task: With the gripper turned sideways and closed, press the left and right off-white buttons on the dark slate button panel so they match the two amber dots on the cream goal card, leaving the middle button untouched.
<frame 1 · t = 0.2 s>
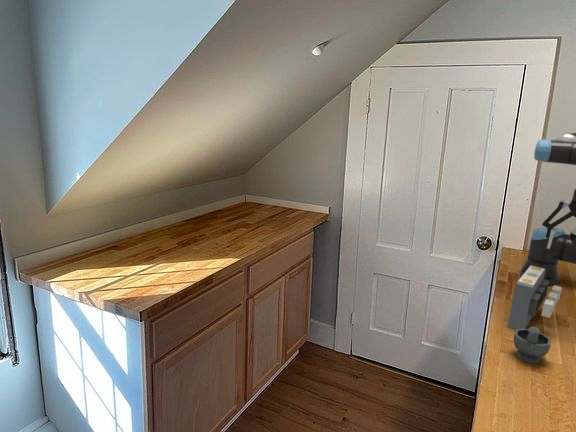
hand: (572, 253, 142), 27 cm above the table, tool pointing down, fingers open, 13 cm apart
button middle: (552, 300, 149), point 9 cm above the table, slide at 0.0 cm
button right: (548, 308, 143), point 9 cm above the table, slide at 0.0 cm
button left: (555, 293, 155), point 9 cm above the table, slide at 0.0 cm
mortar and pestle: (527, 359, 130), on the table
button panel: (523, 317, 156), on the table
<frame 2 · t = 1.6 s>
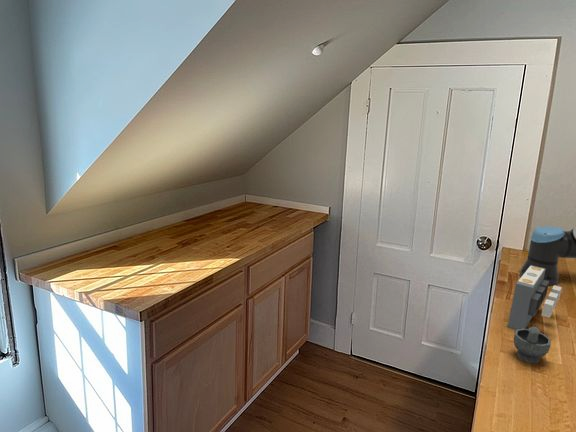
nothing on the table moved.
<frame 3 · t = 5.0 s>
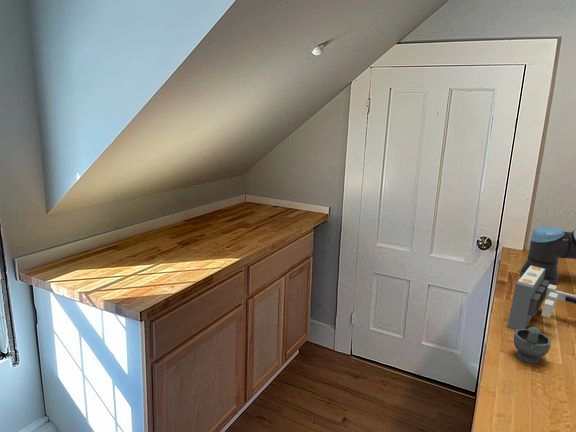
hand: (555, 294, 155), 9 cm above the table, tool horizontal, fingers closed
button left: (550, 292, 156), point 9 cm above the table, slide at 1.5 cm, touching gripper
everything else where it was.
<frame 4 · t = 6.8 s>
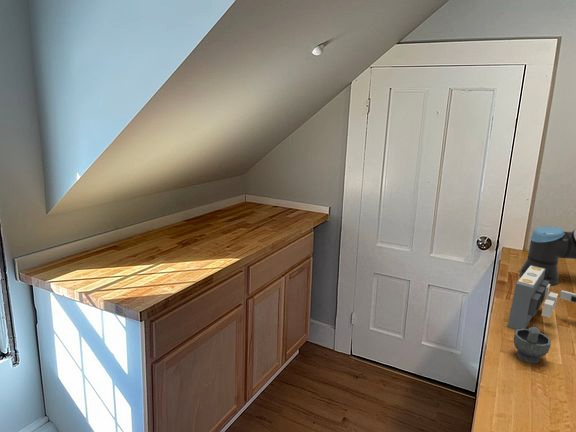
hand: (560, 294, 154), 9 cm above the table, tool horizontal, fingers closed
button left: (544, 290, 157), point 9 cm above the table, slide at 3.6 cm
everything else where it was.
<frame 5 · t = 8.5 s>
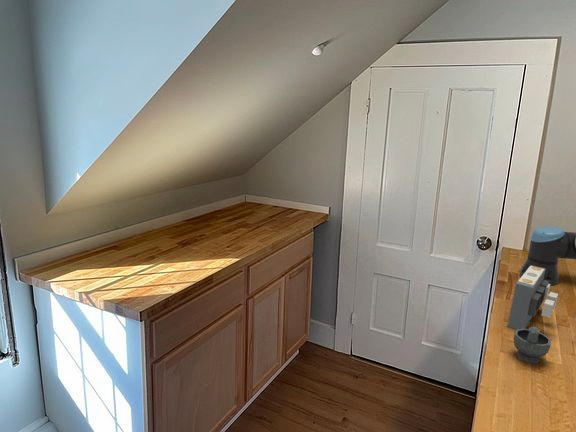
hand: (575, 316, 138), 9 cm above the table, tool horizontal, fingers closed
nothing on the table moved.
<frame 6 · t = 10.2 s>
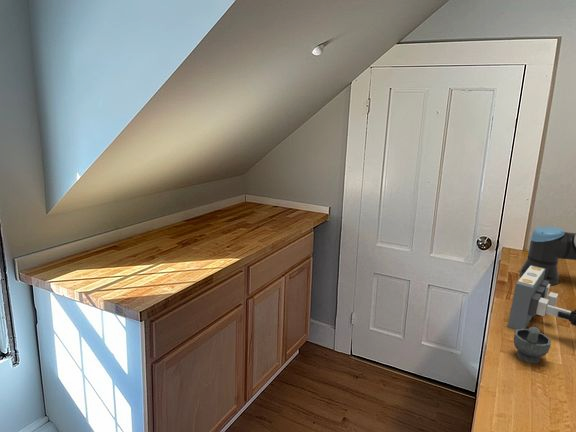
hand: (547, 309, 143), 9 cm above the table, tool horizontal, fingers closed
button right: (542, 306, 144), point 9 cm above the table, slide at 1.7 cm, touching gripper
everything else where it was.
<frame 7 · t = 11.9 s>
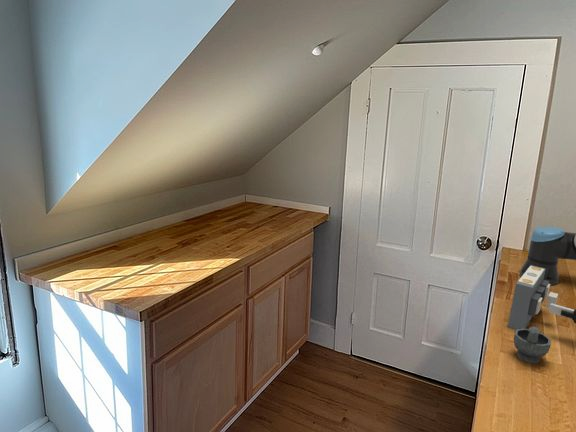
hand: (550, 307, 142), 10 cm above the table, tool horizontal, fingers closed
button right: (535, 304, 145), point 9 cm above the table, slide at 3.6 cm
everything else where it was.
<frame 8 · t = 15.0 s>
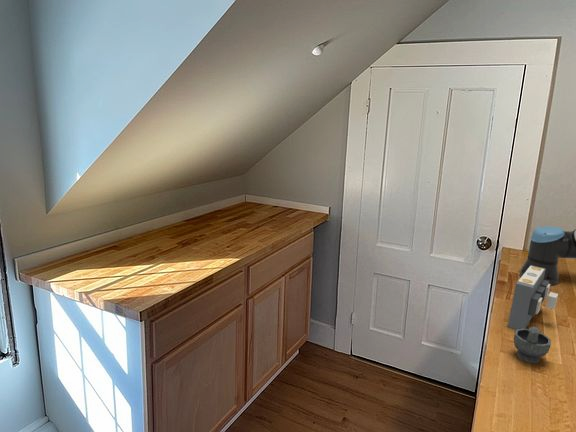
nothing on the table moved.
at the end: button left slide at 3.6 cm; button right slide at 3.6 cm; button middle slide at 0.0 cm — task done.
